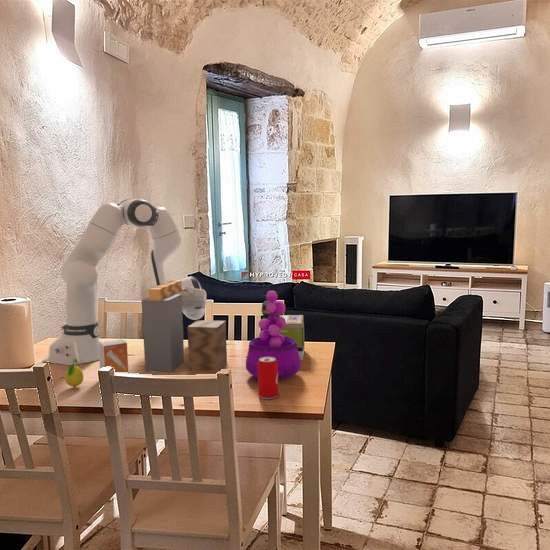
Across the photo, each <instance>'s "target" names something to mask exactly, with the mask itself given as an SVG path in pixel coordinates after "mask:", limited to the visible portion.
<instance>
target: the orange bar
mask: <svg viewBox="0 0 550 550" xmlns="http://www.w3.org/2000/svg"><path fill="white" fill-rule="evenodd" d="M180 291H182V284H181V279H179V280H178V279H176V280H175V279H174V280H169V281H167V282H166V283H163V284H161V285H158V286H157V285H155V286H153V287H150V288H148V291H147V292H148V297H149V300H152V301H160V300H162V299H164V298H167V297H169V296H171V295H173V294H175V293H178V292H180Z"/></svg>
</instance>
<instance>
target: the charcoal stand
mask: <svg viewBox="0 0 550 550" xmlns="http://www.w3.org/2000/svg"><path fill="white" fill-rule="evenodd" d="M141 311H142V312H141V314H142V332H143V333H142V334H143V335H142V336H143V352H144V370H145V372H150V371H154V373H155V372H157V373H172V372H174V371H175V370H177V369H178V368H179V367H180V366H181V365H182V364H184V363H185V345H184V325H183V312H182V296H181V294H173V295H171V296H169V297H167V298H164V299H162V300H160V301H152V300H149V296H147V297H146V298H143V299H141ZM183 362H184V363H183Z"/></svg>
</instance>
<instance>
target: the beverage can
mask: <svg viewBox="0 0 550 550" xmlns="http://www.w3.org/2000/svg"><path fill="white" fill-rule="evenodd" d="M257 365H258V377H257V388H258V389H257V391H258V392H257V393H258V396H259V397H260V398H261V399H263V400H272V399H276V398H277V397H278V396H279V394H280V393H279V380H278V363H277V361H276V358H275V357H261V358H259V362H258V364H257Z"/></svg>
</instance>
